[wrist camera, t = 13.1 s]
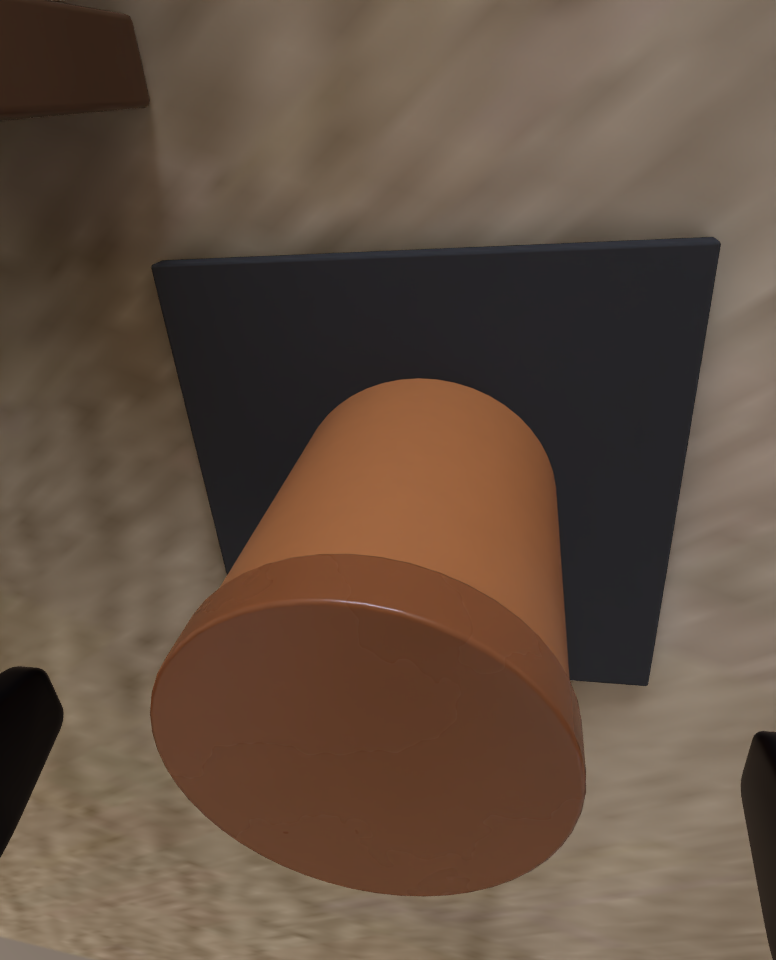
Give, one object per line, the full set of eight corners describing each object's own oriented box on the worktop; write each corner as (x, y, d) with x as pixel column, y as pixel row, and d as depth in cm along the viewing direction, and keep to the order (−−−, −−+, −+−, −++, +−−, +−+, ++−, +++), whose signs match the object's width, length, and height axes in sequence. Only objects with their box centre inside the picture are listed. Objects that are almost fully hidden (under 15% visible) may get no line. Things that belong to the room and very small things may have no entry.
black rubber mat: (714, 236, 10) (722, 241, 10) (645, 673, 14) (647, 687, 14) (160, 259, 12) (149, 265, 11) (252, 643, 16) (245, 655, 16)
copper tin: (569, 369, 11) (606, 617, 6) (555, 605, 13) (571, 923, 8) (279, 372, 12) (93, 588, 7) (315, 592, 14) (200, 870, 9)
